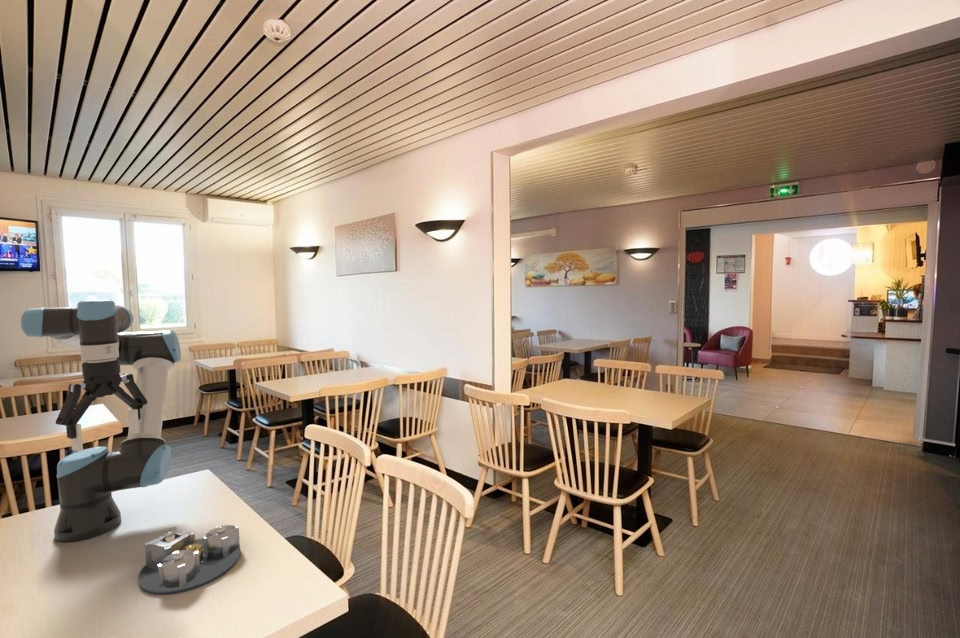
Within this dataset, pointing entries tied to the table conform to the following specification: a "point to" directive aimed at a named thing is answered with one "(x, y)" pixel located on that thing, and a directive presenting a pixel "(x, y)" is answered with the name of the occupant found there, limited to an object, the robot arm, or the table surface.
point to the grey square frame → (167, 545)
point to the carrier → (193, 563)
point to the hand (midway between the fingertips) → (107, 441)
